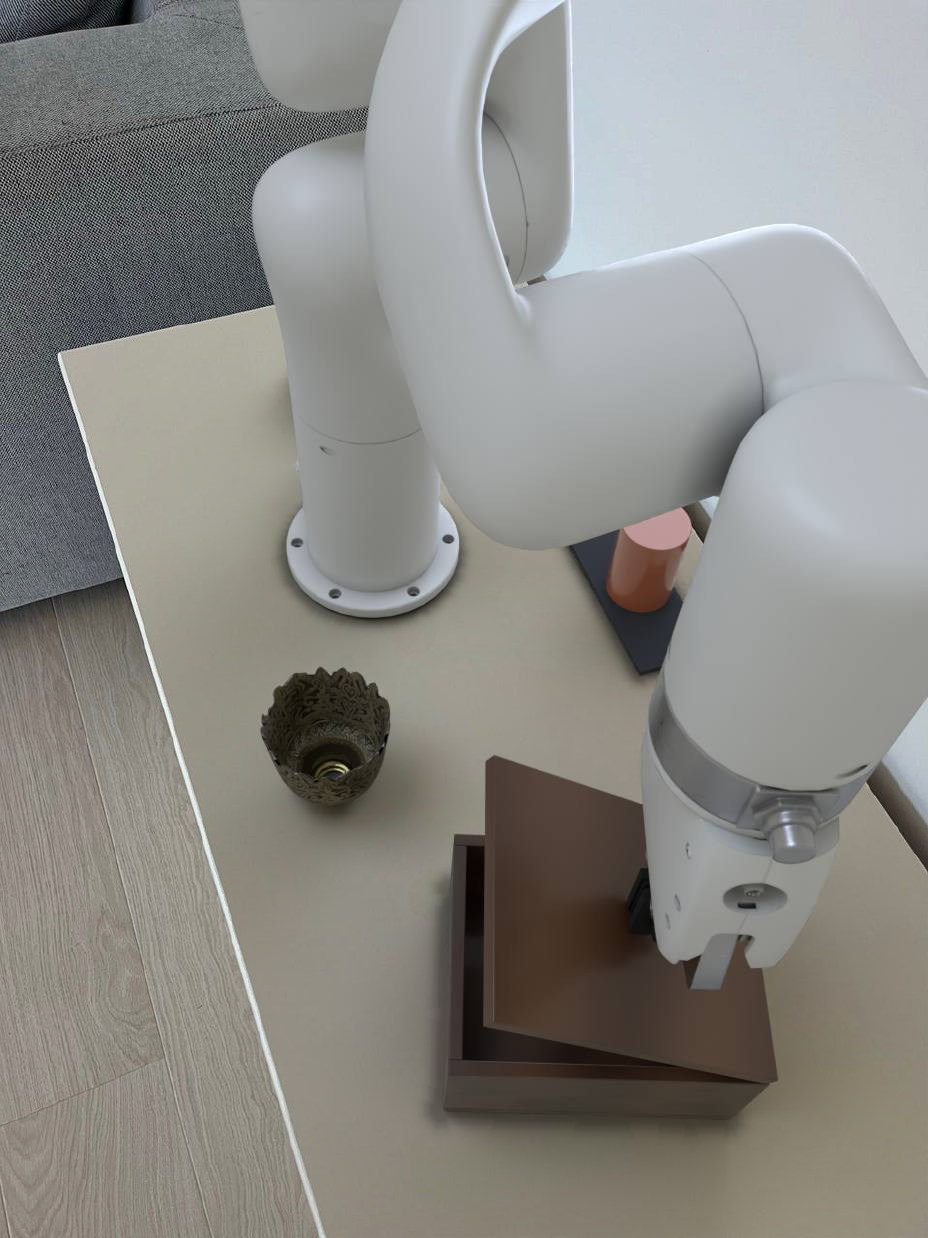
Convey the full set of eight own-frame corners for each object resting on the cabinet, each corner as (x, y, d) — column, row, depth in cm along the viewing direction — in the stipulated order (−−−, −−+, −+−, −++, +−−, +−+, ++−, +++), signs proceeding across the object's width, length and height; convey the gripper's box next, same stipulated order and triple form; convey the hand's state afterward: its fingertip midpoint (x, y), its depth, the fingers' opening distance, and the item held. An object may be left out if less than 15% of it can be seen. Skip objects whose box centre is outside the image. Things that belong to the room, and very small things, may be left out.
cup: (308, 716, 71) (298, 647, 65) (410, 756, 70) (411, 690, 63) (253, 811, 67) (236, 747, 60) (360, 855, 65) (355, 795, 59)
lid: (482, 1027, 44) (493, 1022, 44) (484, 760, 52) (494, 754, 51) (766, 1084, 51) (779, 1081, 51) (733, 842, 59) (743, 837, 58)
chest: (443, 1111, 57) (447, 1075, 51) (449, 888, 65) (454, 833, 58) (731, 1120, 58) (770, 1085, 51) (704, 897, 65) (736, 843, 59)
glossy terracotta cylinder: (674, 614, 77) (695, 551, 71) (607, 611, 77) (623, 548, 71) (665, 545, 81) (685, 480, 75) (602, 542, 81) (617, 477, 75)
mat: (560, 528, 82) (561, 525, 81) (627, 511, 83) (627, 508, 83) (639, 675, 74) (640, 672, 74) (711, 654, 75) (712, 651, 75)
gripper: (928, 939, 32) (763, 1089, 47) (833, 550, 41) (719, 780, 55) (675, 932, 32) (590, 1085, 46) (635, 543, 40) (574, 775, 55)
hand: (661, 918), depth 51 cm, fingers closed
